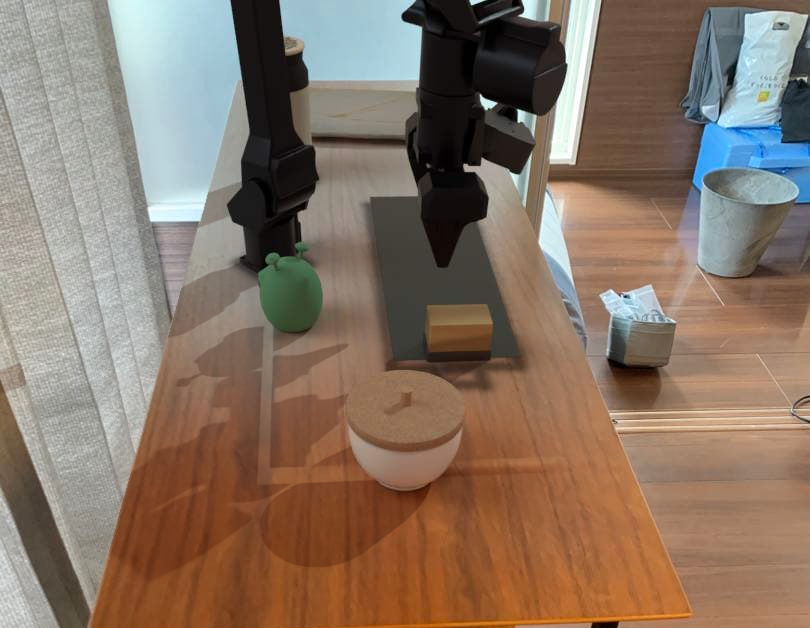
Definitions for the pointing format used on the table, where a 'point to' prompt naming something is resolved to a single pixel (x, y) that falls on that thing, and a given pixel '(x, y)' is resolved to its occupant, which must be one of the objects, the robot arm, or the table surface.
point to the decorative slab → (360, 113)
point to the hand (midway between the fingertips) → (437, 244)
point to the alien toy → (290, 292)
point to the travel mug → (298, 87)
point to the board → (432, 278)
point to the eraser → (457, 332)
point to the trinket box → (405, 427)
